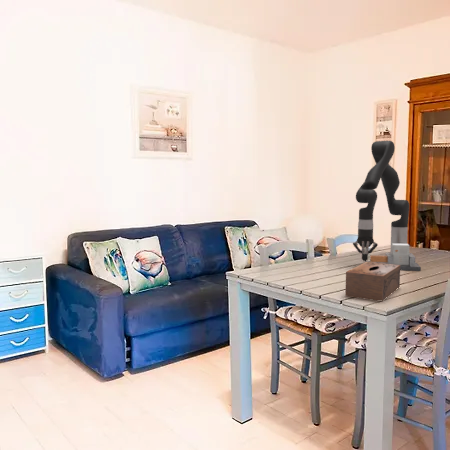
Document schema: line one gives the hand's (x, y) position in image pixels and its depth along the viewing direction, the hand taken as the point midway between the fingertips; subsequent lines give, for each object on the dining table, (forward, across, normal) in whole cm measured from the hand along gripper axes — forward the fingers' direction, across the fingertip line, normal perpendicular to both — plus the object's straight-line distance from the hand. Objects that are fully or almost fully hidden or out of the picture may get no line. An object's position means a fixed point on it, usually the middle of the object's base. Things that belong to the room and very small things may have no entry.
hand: (364, 260), depth 238 cm
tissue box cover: (+4, 0, -53) cm, 53 cm away
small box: (+1, +17, 0) cm, 17 cm away
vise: (+3, +14, 0) cm, 14 cm away
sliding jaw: (+1, +8, 0) cm, 8 cm away
